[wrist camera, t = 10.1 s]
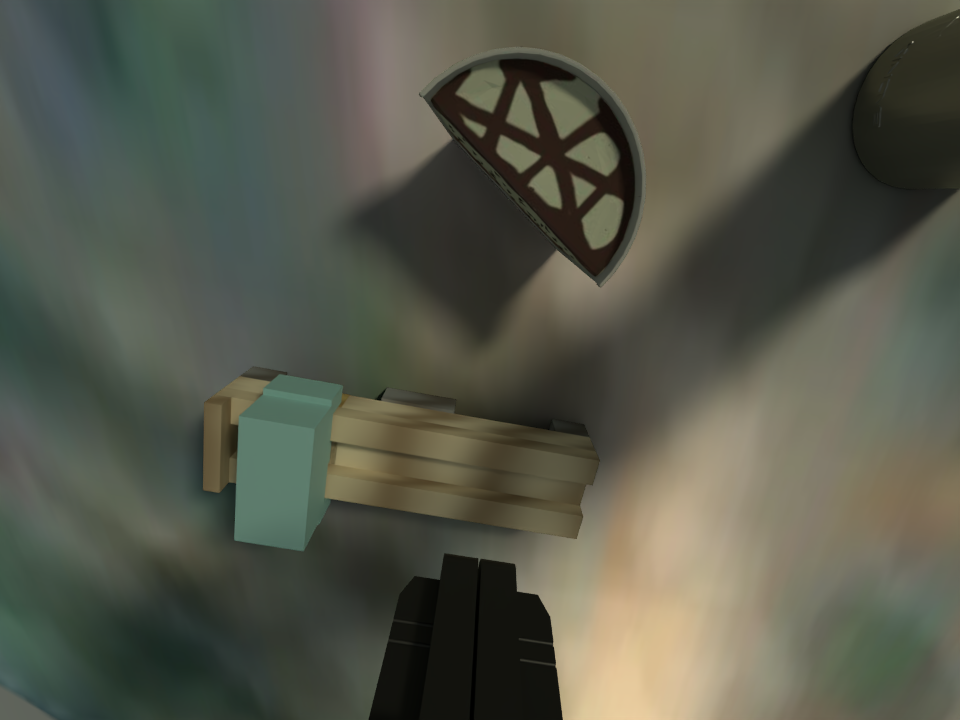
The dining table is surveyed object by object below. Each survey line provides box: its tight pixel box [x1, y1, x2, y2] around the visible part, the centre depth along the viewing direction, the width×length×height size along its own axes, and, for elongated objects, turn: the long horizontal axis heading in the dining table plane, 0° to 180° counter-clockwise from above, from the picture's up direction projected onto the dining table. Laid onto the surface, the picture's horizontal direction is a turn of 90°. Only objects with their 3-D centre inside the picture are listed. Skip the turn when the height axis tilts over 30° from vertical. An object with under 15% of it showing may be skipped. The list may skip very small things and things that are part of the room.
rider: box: [234, 374, 343, 551], centre depth 30 cm, size 4×9×5 cm, turn 169°
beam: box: [203, 367, 600, 539], centre depth 33 cm, size 24×6×6 cm, turn 79°
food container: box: [419, 47, 646, 287], centre depth 26 cm, size 12×6×10 cm, turn 45°
